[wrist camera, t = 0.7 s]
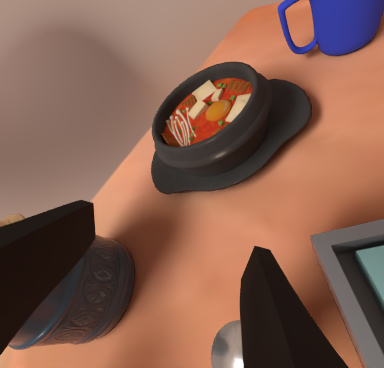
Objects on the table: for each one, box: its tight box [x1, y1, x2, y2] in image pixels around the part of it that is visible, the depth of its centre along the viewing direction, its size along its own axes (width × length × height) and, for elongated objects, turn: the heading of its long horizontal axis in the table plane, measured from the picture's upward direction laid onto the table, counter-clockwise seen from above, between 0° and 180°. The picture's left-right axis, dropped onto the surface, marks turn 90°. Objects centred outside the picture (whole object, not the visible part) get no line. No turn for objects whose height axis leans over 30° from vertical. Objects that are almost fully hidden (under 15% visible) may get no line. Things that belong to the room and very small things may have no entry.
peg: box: [211, 320, 243, 368], centre depth 14 cm, size 4×4×8 cm
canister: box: [0, 214, 134, 350], centre depth 23 cm, size 13×13×18 cm
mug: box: [278, 0, 384, 56], centre depth 27 cm, size 8×12×10 cm
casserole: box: [151, 62, 312, 194], centre depth 29 cm, size 25×19×8 cm
